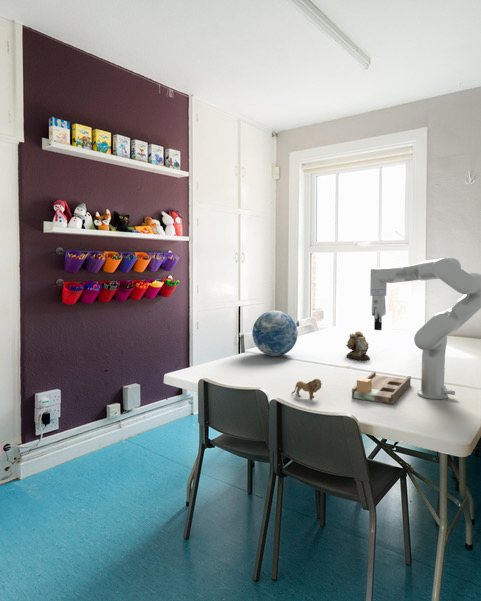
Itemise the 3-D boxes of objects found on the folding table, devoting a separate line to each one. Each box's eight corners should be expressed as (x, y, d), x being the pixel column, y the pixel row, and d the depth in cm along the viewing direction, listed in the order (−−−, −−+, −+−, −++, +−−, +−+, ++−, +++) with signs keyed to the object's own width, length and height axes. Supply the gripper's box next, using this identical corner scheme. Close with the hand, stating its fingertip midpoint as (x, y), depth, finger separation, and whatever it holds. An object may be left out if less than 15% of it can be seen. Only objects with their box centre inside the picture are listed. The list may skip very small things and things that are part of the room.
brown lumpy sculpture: (340, 356, 282) (340, 330, 281) (353, 354, 288) (354, 329, 286) (361, 361, 266) (361, 334, 265) (374, 359, 272) (375, 332, 271)
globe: (306, 354, 288) (306, 309, 286) (278, 362, 267) (278, 314, 264) (272, 349, 309) (271, 307, 306) (243, 356, 287) (242, 311, 285)
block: (371, 390, 197) (371, 379, 197) (367, 392, 193) (367, 381, 193) (360, 388, 200) (361, 377, 200) (356, 391, 196) (356, 380, 196)
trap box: (410, 385, 214) (410, 376, 214) (393, 404, 186) (393, 394, 185) (373, 380, 224) (373, 371, 224) (351, 398, 196) (352, 388, 195)
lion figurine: (323, 397, 198) (323, 378, 197) (319, 400, 193) (319, 380, 193) (293, 393, 205) (293, 374, 205) (288, 396, 201) (288, 377, 200)
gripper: (383, 294, 204) (382, 332, 206) (389, 291, 217) (388, 328, 219) (366, 293, 208) (366, 331, 210) (374, 291, 221) (373, 327, 223)
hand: (377, 329), depth 214 cm, fingers closed
